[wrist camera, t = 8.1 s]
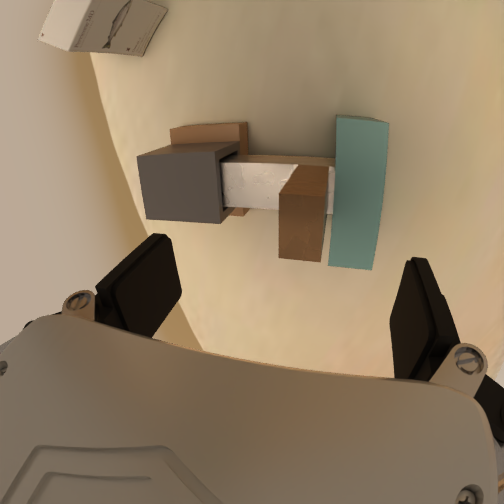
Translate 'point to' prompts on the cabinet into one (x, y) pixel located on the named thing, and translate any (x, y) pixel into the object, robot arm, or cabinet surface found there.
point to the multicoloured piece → (284, 196)
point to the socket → (358, 190)
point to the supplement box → (101, 25)
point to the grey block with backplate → (191, 173)
